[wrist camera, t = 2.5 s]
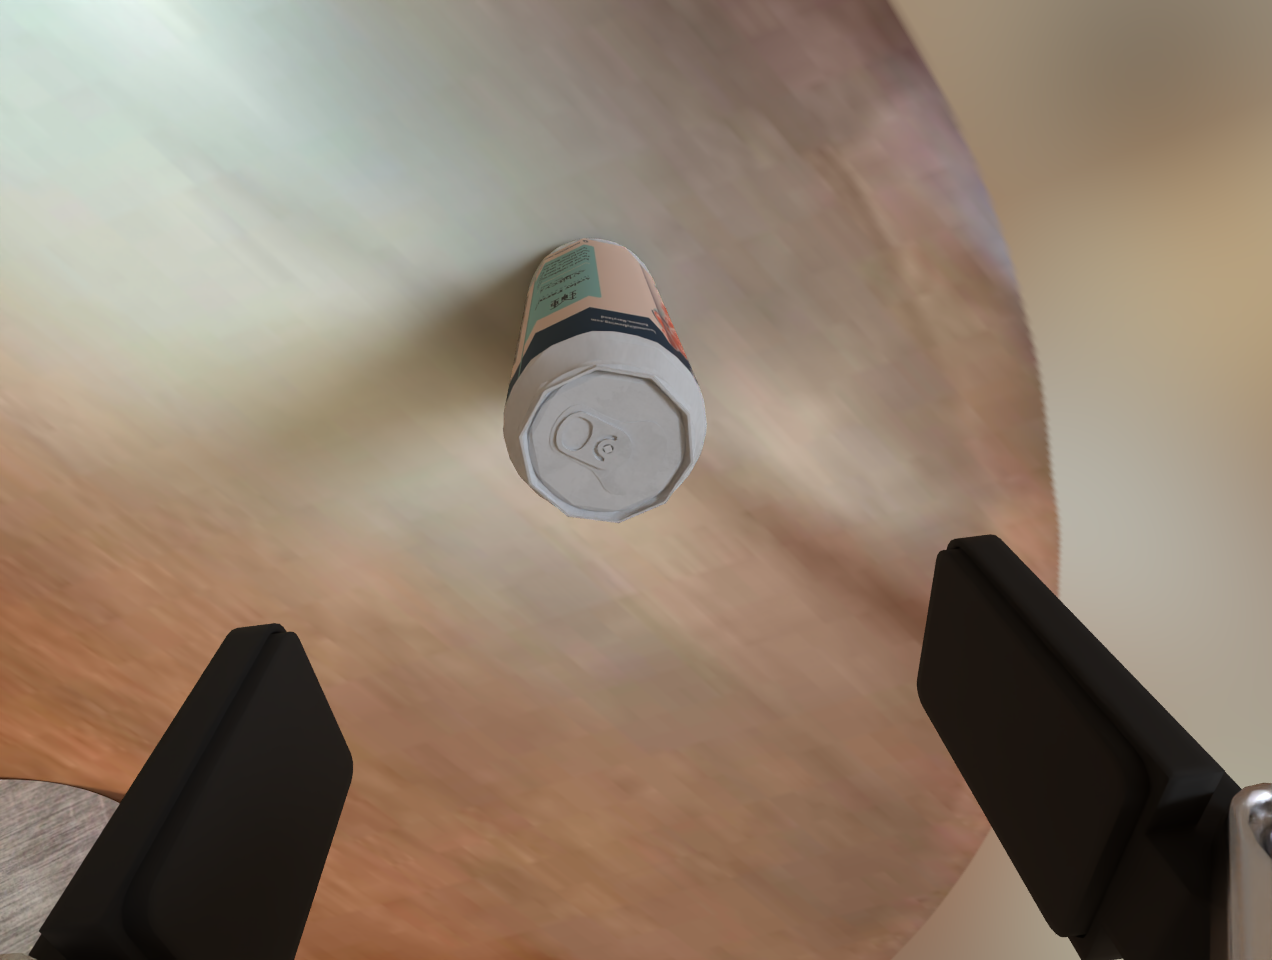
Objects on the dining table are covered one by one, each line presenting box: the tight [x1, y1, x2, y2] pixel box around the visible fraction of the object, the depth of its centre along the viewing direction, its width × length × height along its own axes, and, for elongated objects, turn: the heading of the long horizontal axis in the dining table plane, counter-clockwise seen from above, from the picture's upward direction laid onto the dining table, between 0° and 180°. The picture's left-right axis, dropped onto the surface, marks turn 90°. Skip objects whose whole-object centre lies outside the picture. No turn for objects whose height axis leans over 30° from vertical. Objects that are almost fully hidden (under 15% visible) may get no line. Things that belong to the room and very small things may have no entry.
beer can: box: [503, 238, 707, 523], centre depth 20 cm, size 5×5×12 cm
